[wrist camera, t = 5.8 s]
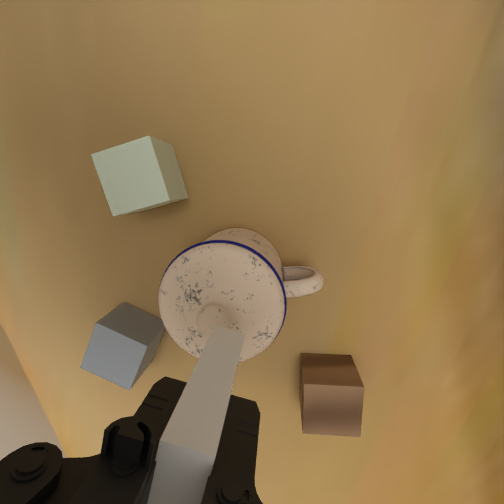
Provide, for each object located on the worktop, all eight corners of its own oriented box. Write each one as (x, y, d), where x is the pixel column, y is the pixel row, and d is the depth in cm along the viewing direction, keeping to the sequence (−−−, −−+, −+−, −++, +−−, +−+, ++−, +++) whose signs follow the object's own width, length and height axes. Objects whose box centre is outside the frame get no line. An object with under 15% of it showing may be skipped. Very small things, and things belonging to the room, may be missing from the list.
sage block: (123, 160, 28) (90, 154, 23) (172, 144, 27) (149, 135, 23) (140, 211, 29) (112, 216, 24) (188, 198, 28) (170, 200, 23)
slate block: (124, 301, 31) (96, 322, 26) (168, 321, 31) (147, 346, 26) (110, 340, 32) (80, 367, 28) (152, 359, 32) (129, 390, 28)
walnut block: (300, 352, 31) (304, 383, 26) (350, 354, 30) (364, 387, 25) (299, 395, 32) (302, 433, 27) (347, 398, 31) (360, 437, 26)
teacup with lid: (201, 318, 31) (154, 395, 19) (185, 231, 29) (123, 259, 18) (319, 307, 29) (344, 383, 18) (310, 214, 27) (330, 234, 16)
